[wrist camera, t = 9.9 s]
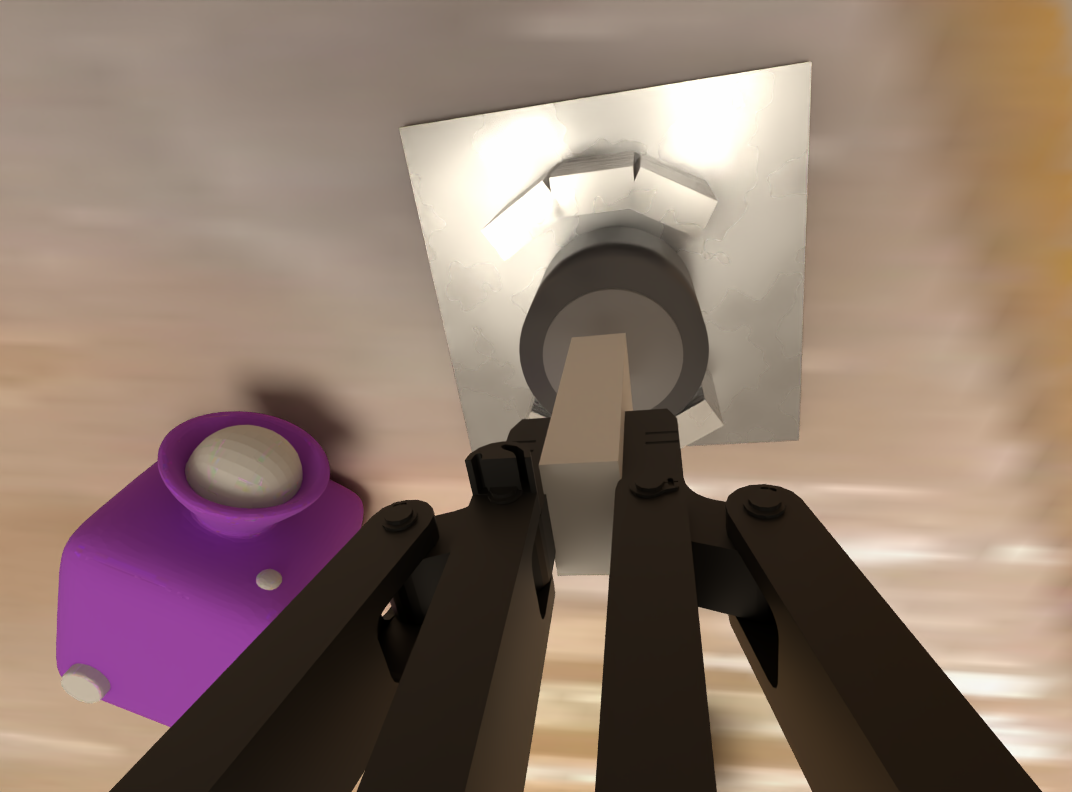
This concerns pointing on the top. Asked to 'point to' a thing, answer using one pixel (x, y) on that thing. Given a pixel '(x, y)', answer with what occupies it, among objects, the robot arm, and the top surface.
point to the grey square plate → (638, 202)
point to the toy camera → (196, 561)
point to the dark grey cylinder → (619, 316)
